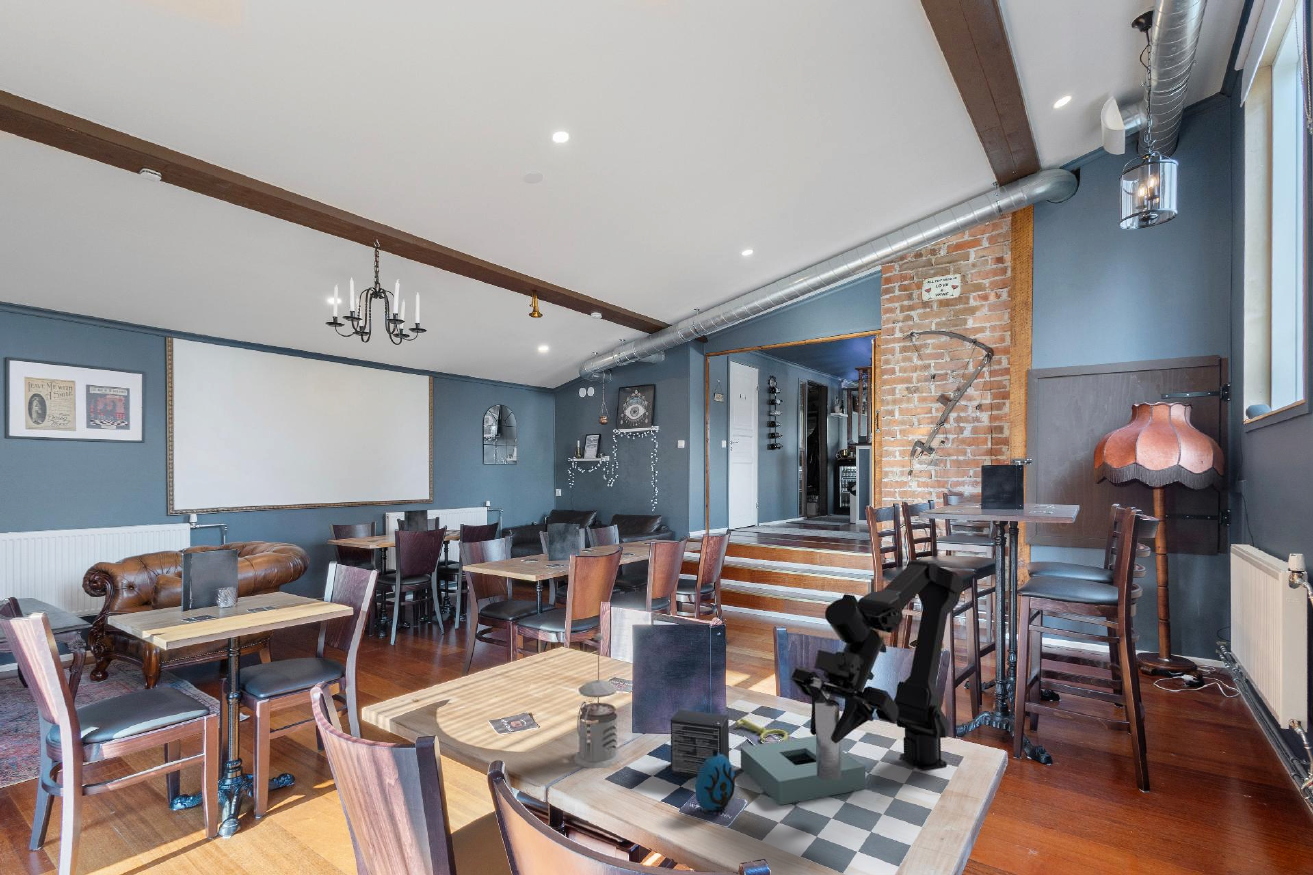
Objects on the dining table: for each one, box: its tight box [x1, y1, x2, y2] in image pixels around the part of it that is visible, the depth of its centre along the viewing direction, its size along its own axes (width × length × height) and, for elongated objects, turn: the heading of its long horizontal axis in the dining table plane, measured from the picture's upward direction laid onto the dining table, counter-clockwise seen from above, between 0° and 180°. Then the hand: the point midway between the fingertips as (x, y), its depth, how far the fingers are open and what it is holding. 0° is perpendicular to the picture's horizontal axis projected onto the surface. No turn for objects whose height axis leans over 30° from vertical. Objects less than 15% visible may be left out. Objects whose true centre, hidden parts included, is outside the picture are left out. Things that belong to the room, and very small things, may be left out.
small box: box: [669, 709, 730, 779], centre depth 125 cm, size 11×6×10 cm, turn 71°
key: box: [735, 717, 789, 742], centre depth 142 cm, size 7×12×2 cm, turn 58°
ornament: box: [694, 749, 736, 811], centre depth 111 cm, size 8×5×10 cm, turn 126°
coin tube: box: [815, 698, 841, 781], centre depth 109 cm, size 4×4×12 cm
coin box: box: [740, 735, 867, 806], centre depth 122 cm, size 18×15×4 cm
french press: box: [573, 632, 623, 769], centre depth 131 cm, size 10×12×25 cm
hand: (822, 737), depth 108 cm, fingers closed on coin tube, 4 cm apart
